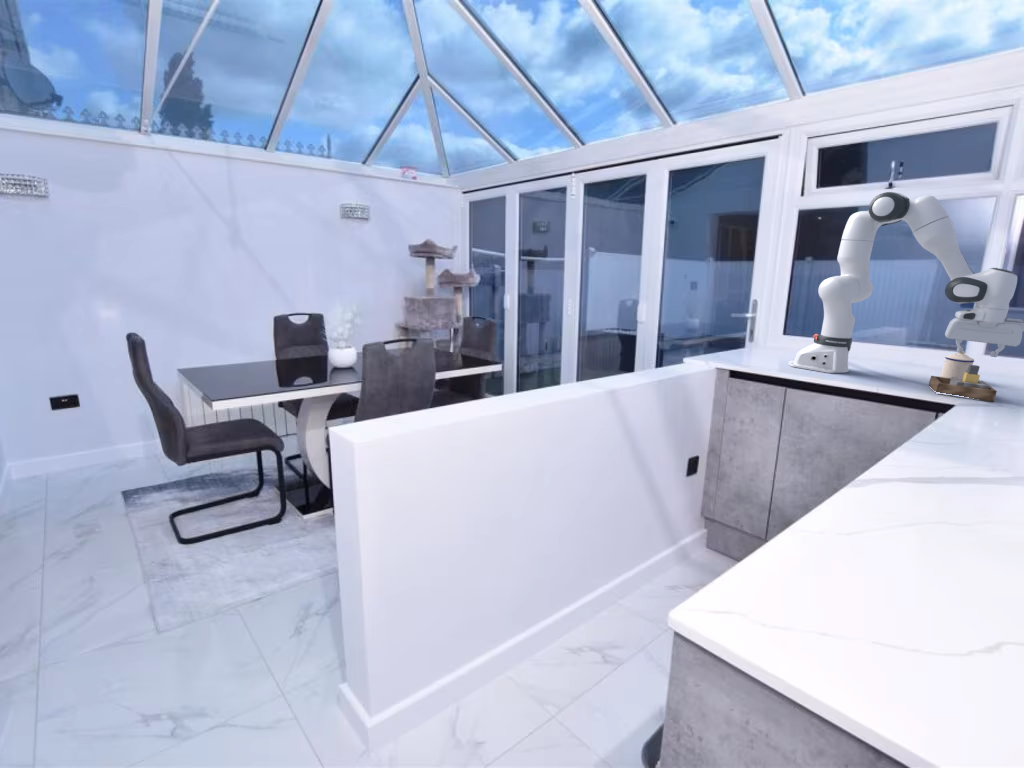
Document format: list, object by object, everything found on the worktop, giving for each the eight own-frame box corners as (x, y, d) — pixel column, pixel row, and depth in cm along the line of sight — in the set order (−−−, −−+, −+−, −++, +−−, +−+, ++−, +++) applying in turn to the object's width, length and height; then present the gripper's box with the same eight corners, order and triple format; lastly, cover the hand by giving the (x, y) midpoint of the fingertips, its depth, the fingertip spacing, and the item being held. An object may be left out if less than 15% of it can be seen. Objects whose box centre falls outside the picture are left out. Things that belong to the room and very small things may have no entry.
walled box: (935, 394, 186) (939, 380, 184) (928, 385, 197) (931, 373, 196) (993, 402, 178) (997, 388, 177) (982, 393, 190) (986, 380, 189)
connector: (961, 392, 186) (969, 365, 183) (959, 390, 189) (966, 364, 186) (974, 394, 184) (982, 367, 182) (971, 392, 187) (979, 365, 185)
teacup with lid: (967, 383, 204) (976, 354, 201) (938, 378, 210) (946, 350, 207) (969, 378, 213) (977, 351, 210) (941, 374, 218) (948, 347, 215)
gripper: (1025, 318, 177) (1011, 357, 181) (950, 311, 187) (939, 348, 191) (1031, 321, 172) (1017, 361, 176) (954, 313, 181) (942, 351, 185)
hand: (976, 354), depth 183 cm, fingers open, 8 cm apart
